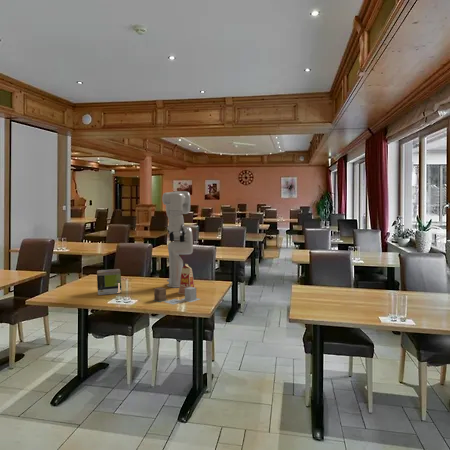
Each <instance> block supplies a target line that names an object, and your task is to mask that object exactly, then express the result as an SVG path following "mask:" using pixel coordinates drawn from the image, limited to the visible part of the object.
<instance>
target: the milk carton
mask: <svg viewBox="0 0 450 450" xmlns="http://www.w3.org/2000/svg"><path fill="white" fill-rule="evenodd" d="M188 287H194V288H196V287H195V281H194V273H193V269H192V267H191V266H189V264H188V263H184V265H183V268H182V272H181V277H180V287H178V288H179V289H178V292H177V293H178V295H185V288H188Z"/></svg>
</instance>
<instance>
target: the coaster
mask: <svg viewBox="0 0 450 450" xmlns="http://www.w3.org/2000/svg"><path fill="white" fill-rule="evenodd" d="M152 301H153V302H157V303H162V302H163V303H164V302H165V301H168V299H167V298H166V300H164V301H156V300H154V299H152Z"/></svg>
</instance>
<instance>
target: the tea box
mask: <svg viewBox="0 0 450 450" xmlns="http://www.w3.org/2000/svg"><path fill="white" fill-rule="evenodd" d="M121 273H122V272H121V269H120V268H115V269H114V268H113V269H101V270H100V269H99V270H97V271H96V285H97V286H96V287H97V295H98V296H102V295H113V294H114V295H115V294H116V295H117V294H118V293H117V292H118V283H120V290H121V292H122V275H121Z"/></svg>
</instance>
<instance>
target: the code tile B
mask: <svg viewBox="0 0 450 450" xmlns="http://www.w3.org/2000/svg"><path fill="white" fill-rule="evenodd" d="M180 300H181V301H184V302H189V303H193V302H196V301H199V300H201V298H197V297H196V300H192V301H189V300H185V297H184V298H181V299H180Z"/></svg>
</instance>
